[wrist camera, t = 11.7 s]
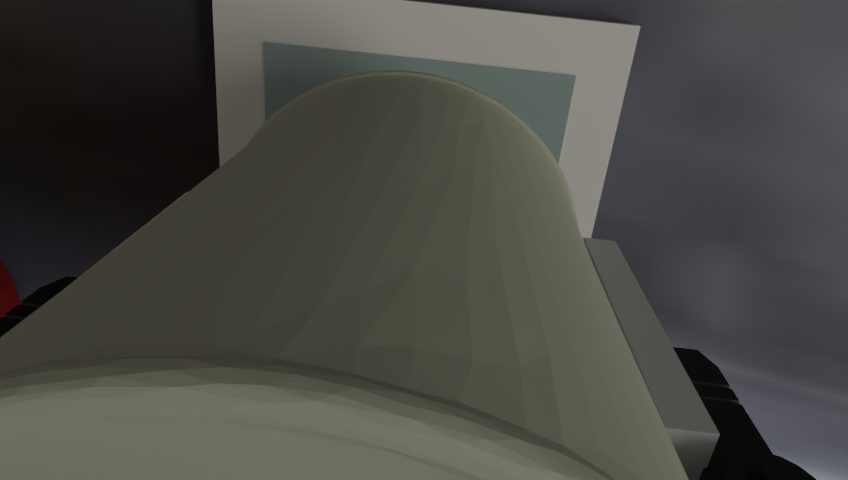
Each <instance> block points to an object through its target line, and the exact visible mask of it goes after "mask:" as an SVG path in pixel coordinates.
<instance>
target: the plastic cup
mask: <svg viewBox="0 0 848 480" xmlns="http://www.w3.org/2000/svg"><path fill="white" fill-rule="evenodd" d="M16 305H20V303H19V299H18V295H17V291H16V288H15V284H14V281H13V279H12V278H11V276H10V275H9V274H8V272H7V271H6V269H5V268H4V266H3V265H2V264H1V262H0V317H5V314H6V313H7V312H8V311H10V310H11V309H12V308H14V307H15V306H16Z"/></svg>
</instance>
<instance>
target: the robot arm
mask: <svg viewBox="0 0 848 480" xmlns="http://www.w3.org/2000/svg"><path fill="white" fill-rule="evenodd" d="M187 193H188V192H186V193H184V194H183V195H182V196H181V197H179V198H178V199H177V200H176V201H174V202H173V203H172V204H171V205H169V206H168V207H167V208H165V209H164V210H163V211H162V212H160V213H159V214H158V215H157V216H155V217H154V218H153V219H152V220H150V221H149V222H148V223H147V224H145V225H144V226H143V227H141V228H140V229H139V230H138V231H136V232H135V233H134V234H133V235H131V236H130V237H129V238H128V239H126V240H125V241H124V242H123V243H121V244H120V245H119V246H117V247H116V248H115V249H114V250H116V249H117V248H118V247H120V246H121V245H122V244H124V243H125V242H126V241H127V240H129V239H130V238H131V237H132V236H134V235H135V234H136V233H138V232H139V231H140V230H141V229H143V228H144V227H145V226H146V225H148V224H149V223H150V222H151V221H153V220H154V219H155V218H156V217H158V216H159V215H160V214H161V213H163V212H164V211H165V210H166V209H168V208H169V207H170V206H172V205H173V204H174V203H175V202H177V201H178V200H179V199H180V198H182V197H183V196H184V195H185V194H187ZM583 241H584V243H585V246H586V248H587V251H588V253H589V256H590V258H591V260H592V263H593V265H594V268H595V270H596V272H597V275H598V277H599V279H600V282H601V284H602V286H603V289H604V291H605V293H606V296H607V298H608V300H609V303H610V305H611V307H612V309H613V312H614V314H615V316H616V319H617V321H618V323H619V326H620V328H621V330H622V332H623V335H624V337H625V339H626V341H627V344H628V346H629V348H630V350H631V353H632V355H633V357H634V359H635V361H636V364H637V366H638V368H639V370H640V373H641V375H642V377H643V379H644V382H645V384H646V386H647V388H648V390H649V393H650V395H651V397H652V399H653V402H654V404H655V406H656V408H657V410H658V413H659V415H660V417H661V419H662V422H663V424H664V426H665V428H666V430H667V433H668V435H669V437H670V439H671V442H672V444H673V446H674V448H675V450H676V453H677V455H678V457H679V459H680V462H681V464H682V466H683V468H684V470H685V473H686V475H687V477H688V479H689V480H816V479H815V478H814V477H812V476H811V475H810V474H808V473H807V472H806V471H805V470H803V469H802V468H801V467H799V466H798V465H796V464H794V463H792V462H790V461H788V460H786V459H784V458H782V457H779V456H776V455H773V454H772V452H771V451H770V449H769V447H768V446H767V444H766V443H765V441H764V440H763V438H762V436H761V435H760V433H759V432H758V430H757V428H756V427H755V425H754V424H753V422H752V420H751V419H750V417H749V416H748V414H747V413H746V411H745V409H744V408H743V406H742V405H740V404H739V400H738V398H737V397H736V395H735V393H734V392H733V390H732V389H729V384H728V382H727V381H726V379H725V378H724V376H723V374H722V373H721V371H720V370H719V368H718V367H717V366H716V365H715V364H714V363H712V362H711V361H710V360H709V359H708V358H706V357H705V356H704V355H703V354H702V353H700V352H699V351H698V350H693V349H684V348H676V347H672V345H671V343H670V341H669V339H668V338H667V336H666V334H665V332H664V330H663V328H662V327H661V325H660V323H659V321H658V319H657V317H656V316H655V314H654V312H653V310H652V308H651V306H650V304H649V303H648V301H647V299H646V297H645V295H644V293H643V292H642V290H641V288H640V286H639V284H638V282H637V281H636V279H635V277H634V275H633V273H632V271H631V269H630V268H629V266H628V264H627V262H626V260H625V258H624V257H623V255H622V253H621V251H620V249H619V247H618V246H617V244H616V242H615V241H609V240H600V239H591V238H583ZM114 250H112V251H111V252H110V253H112V252H113V251H114ZM110 253H109V254H110ZM109 254H107V255H106V256H105V257H107V256H108V255H109ZM105 257H104V258H105ZM104 258H102V259H101V260H103V259H104ZM101 260H100V261H101ZM100 261H99V262H100ZM99 262H97V263H99ZM97 263H96V264H97ZM96 264H95V265H96ZM95 265H93V266H95ZM93 266H92V267H93ZM92 267H91V268H92ZM91 268H90V269H91ZM90 269H88V270H90ZM88 270H87V271H88ZM87 271H86V272H87ZM86 272H85V273H86ZM83 274H84V273H83ZM83 274H82V275H83ZM82 275H81V276H82ZM78 278H79V277H78ZM78 278H76V277H65V278H62V279H60V280H58V281H55V282H53V283H50V284H48V285H46V286H43V287H41V288H39V289H38V290H37V291H35V292H34V293H33V294H31V295H30V296H29V297H27V298H26V299H25V300H23V301H22V302H21V305H16V306H15V307H14V308H12V309H11V310H10V311H8V312H7V313H6V314H5V317H0V337H2V336H3V335H4V334H6V333H7V332H8V331H10V330H11V329H12V328H13V327H15V326H16V325H17V324H19V323H20V322H21V321H23V320H24V319H25V318H27V317H28V316H29V315H31V314H32V313H33V312H34V311H36V310H37V309H38V308H40V307H41V306H42V305H44V304H45V303H46V302H48V301H49V300H50V299H51V298H53V297H54V296H55V295H57V294H58V293H59V292H61V291H62V290H63V289H65V288H66V287H67V286H69V285H70V284H71V283H72V282H74V281H75V280H76V279H78Z"/></svg>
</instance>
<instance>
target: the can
mask: <svg viewBox="0 0 848 480" xmlns="http://www.w3.org/2000/svg"><path fill="white" fill-rule="evenodd" d="M0 480H689V479H688V477H687V475H686V473H685V470H684V468H683V466H682V464H681V462H680V459H679V457H678V455H677V453H676V450H675V448H674V446H673V444H672V442H671V439H670V437H669V435H668V433H667V430H666V428H665V426H664V424H663V422H662V419H661V417H660V415H659V413H658V410H657V408H656V406H655V404H654V402H653V399H652V397H651V395H650V393H649V390H648V388H647V386H646V384H645V382H644V379H643V377H642V375H641V373H640V370H639V368H638V366H637V364H636V361H635V359H634V357H633V355H632V353H631V350H630V348H629V346H628V344H627V341H626V339H625V337H624V335H623V332H622V330H621V328H620V326H619V323H618V321H617V319H616V316H615V314H614V312H613V309H612V307H611V305H610V303H609V300H608V298H607V296H606V293H605V291H604V289H603V286H602V284H601V282H600V279H599V277H598V275H597V272H596V270H595V268H594V265H593V263H592V260H591V258H590V256H589V253H588V251H587V248H586V246H585V243H584V241H583V238H582V236H581V233H580V231H579V228H578V220H577V215H576V210H575V205H574V201H573V198H572V195H571V192H570V189H569V186H568V183H567V181H566V179H565V177H564V174H563V172H562V170H561V168H560V166H559V165H558V163H557V161H556V159H555V158H554V156H553V155H552V153H551V152H550V150H549V149H548V148H547V146H546V145H545V143H544V142H543V141H542V139H541V138H540V137H539V136H538V135H537V134H536V133H535V132H534V131H533V130H532V128H531V127H530V126H529V125H528V124H527V123H526V122H525V121H524V120H522V119H521V118H520V117H519V116H518V115H517V114H516V113H514V112H513V111H512V110H510V109H509V108H507V107H506V106H505V105H503V104H502V103H500V102H499V101H497V100H496V99H494V98H492V97H491V96H489V95H487V94H485V93H483V92H482V91H480V90H478V89H476V88H473V87H471V86H469V85H466V84H464V83H461V82H458V81H455V80H452V79H449V78H446V77H442V76H438V75H434V74H428V73H423V72H415V71H403V70H384V71H371V72H363V73H358V74H353V75H348V76H344V77H341V78H337V79H334V80H331V81H328V82H325V83H323V84H321V85H318V86H316V87H314V88H312V89H310V90H308V91H306V92H304V93H302V94H301V95H299V96H297V97H296V98H294V99H293V100H291V101H290V102H288V103H287V104H286V105H284V106H283V107H282V108H280V109H279V110H278V111H277V112H275V113H274V114H273V115H272V116H271V117H270V118H269V119H268V120H267V121H266V122H265V123H264V124H263V125H262V126H261V128H260V129H259V130H258V131H257V132H256V133H255V134H254V136H253V137H252V139H251V140H250V141H249V143H248V144H247V145H246V146H245V147H244V148H243V149H242V150H241V151H240V152H238V153H237V154H236V155H234V156H233V157H232V158H231V159H229V160H228V161H227V162H226V163H224V164H223V165H222V166H221V167H219V168H218V169H217V170H216V171H214V172H213V173H212V174H211V175H209V176H208V177H207V178H206V179H204V180H203V181H202V182H200V183H199V184H198V185H197V186H195V187H194V188H193V189H192V190H190V191H189V192H188V193H187V194H185V195H184V196H183V197H182V198H180V199H179V200H178V201H177V202H175V203H174V204H173V205H172V206H170V207H169V208H168V209H166V210H165V211H164V212H163V213H161V214H160V215H159V216H158V217H156V218H155V219H154V220H153V221H151V222H150V223H149V224H148V225H146V226H145V227H144V228H143V229H141V230H140V231H139V232H138V233H136V234H135V235H134V236H132V237H131V238H130V239H129V240H127V241H126V242H125V243H124V244H122V245H121V246H120V247H118V248H117V249H116V250H114V251H113V252H112V253H110V254H109V255H108V256H107V257H105V258H104V259H103V260H101V261H100V262H99V263H97V264H96V265H95V266H93V267H92V268H91V269H90V270H88V271H87V272H86V273H84V274H83V275H82V276H80V277H79V278H78V279H76V280H75V281H74V282H72V283H71V284H70V285H69V286H67V287H66V288H65V289H63V290H62V291H61V292H59V293H58V294H57V295H55V296H54V297H53V298H51V299H50V300H49V301H48V302H46V303H45V304H44V305H42V306H41V307H40V308H38V309H37V310H36V311H34V312H33V313H32V314H31V315H29V316H28V317H27V318H25V319H24V320H23V321H21V322H20V323H19V324H17V325H16V326H15V327H13V328H12V329H11V330H10V331H8V332H7V333H6V334H4V335H3V336H2V337H0Z"/></svg>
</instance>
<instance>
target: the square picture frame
mask: <svg viewBox="0 0 848 480" xmlns="http://www.w3.org/2000/svg"><path fill="white" fill-rule="evenodd" d="M212 7H213V29H214V51H215V74H216V96H217V118H218V140H219V163H220V167H221V166H222V165H223V164H224V163H226V162H227V161H228V160H229V159H231V158H232V157H233V156H234V155H236V154H237V153H238V152H240V151H241V150H242V149H243V148H244V147H245V146H246V145H247V144H248V143H249V141H250V140H251V139H252V137H253V136H254V134H255V133H256V132H257V131H258V130H259V129H260V128H261V126H262V125H263V124H264V123H265V122H266V121H267V120H268V119H269V118H270V117H271V116H272V115H273V114H274V113H275V112H277V111H278V110H279V109H280V108H282V107H283V106H284V105H286V104H287V103H288V102H290V101H291V100H293V99H294V98H296V97H297V96H299V95H301V94H302V93H304V92H306V91H308V90H310V89H312V88H314V87H316V86H318V85H321V84H323V83H325V82H328V81H331V80H334V79H337V78H341V77H344V76H348V75H353V74H358V73H363V72H371V71H384V70H403V71H415V72H423V73H428V74H434V75H438V76H442V77H446V78H449V79H452V80H455V81H458V82H461V83H464V84H466V85H469V86H471V87H473V88H476V89H478V90H480V91H482V92H483V93H485V94H487V95H489V96H491V97H492V98H494V99H496V100H497V101H499V102H500V103H502V104H503V105H505V106H506V107H507V108H509V109H510V110H512V111H513V112H514V113H516V114H517V115H518V116H519V117H520V118H521V119H522V120H524V121H525V122H526V123H527V124H528V125H529V126H530V127H531V128H532V130H533V131H534V132H535V133H536V134H537V135H538V136H539V137H540V138H541V139H542V141H543V142H544V143H545V145H546V146H547V148H548V149H549V150H550V152H551V153H552V155H553V156H554V158H555V159H556V161H557V163H558V165H559V166H560V168H561V170H562V172H563V174H564V177H565V179H566V181H567V183H568V186H569V189H570V192H571V195H572V198H573V201H574V205H575V210H576V215H577V220H578V228H579V231H580V233H581V236H582V238H591V235H592V231H593V227H594V222H595V218H596V214H597V210H598V205H599V201H600V197H601V193H602V188H603V184H604V180H605V176H606V171H607V167H608V163H609V158H610V154H611V150H612V146H613V141H614V137H615V133H616V129H617V124H618V120H619V116H620V112H621V107H622V103H623V99H624V95H625V90H626V86H627V82H628V77H629V73H630V69H631V65H632V60H633V56H634V52H635V48H636V43H637V39H638V35H639V31H640V26H638V25H635V24H630V23H621V22H611V21H602V20H593V19H584V18H575V17H565V16H556V15H547V14H538V13H529V12H520V11H510V10H501V9H492V8H483V7H474V6H464V5H455V4H446V3H437V2H428V1H418V0H212Z"/></svg>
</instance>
